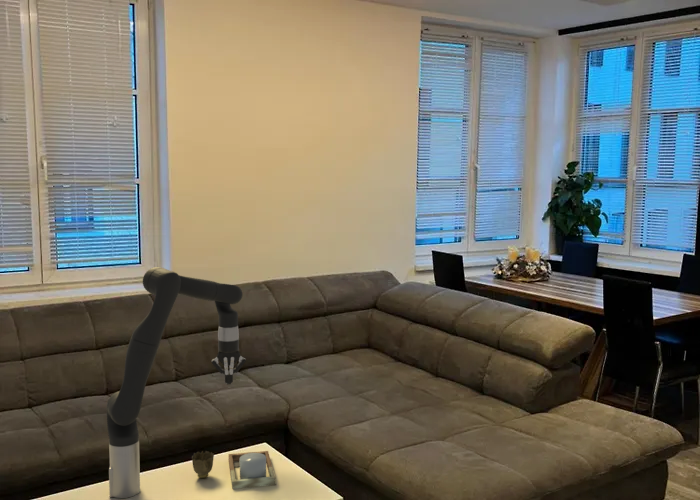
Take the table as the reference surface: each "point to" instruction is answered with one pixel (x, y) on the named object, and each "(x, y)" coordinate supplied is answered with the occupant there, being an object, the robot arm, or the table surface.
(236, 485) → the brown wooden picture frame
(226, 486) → the table surface
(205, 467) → the cup
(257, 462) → the slate stoneware canister
